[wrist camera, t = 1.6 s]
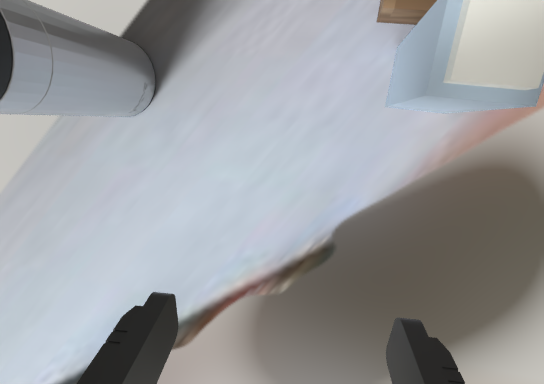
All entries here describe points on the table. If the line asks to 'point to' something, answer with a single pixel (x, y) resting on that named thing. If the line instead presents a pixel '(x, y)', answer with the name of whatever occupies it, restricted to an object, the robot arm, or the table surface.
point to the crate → (403, 11)
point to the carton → (471, 57)
